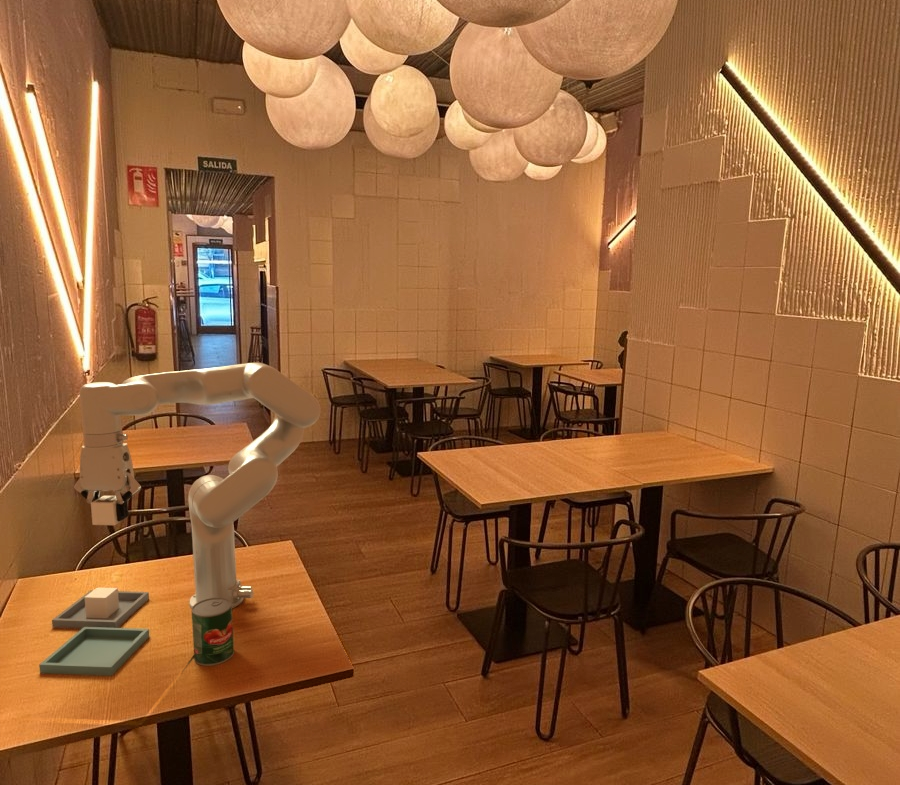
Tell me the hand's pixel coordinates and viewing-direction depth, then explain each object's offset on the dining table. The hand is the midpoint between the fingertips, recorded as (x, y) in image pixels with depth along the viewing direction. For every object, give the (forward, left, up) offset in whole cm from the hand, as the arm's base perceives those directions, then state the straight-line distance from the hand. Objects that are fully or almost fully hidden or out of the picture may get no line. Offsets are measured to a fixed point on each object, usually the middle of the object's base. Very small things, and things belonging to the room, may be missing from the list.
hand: (109, 518), depth 144 cm
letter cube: (0, 0, -1) cm, 1 cm away
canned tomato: (-27, +11, -26) cm, 39 cm away
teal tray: (-3, +13, -25) cm, 29 cm away
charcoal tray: (+6, -4, -25) cm, 26 cm away
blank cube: (+6, -4, -25) cm, 26 cm away
